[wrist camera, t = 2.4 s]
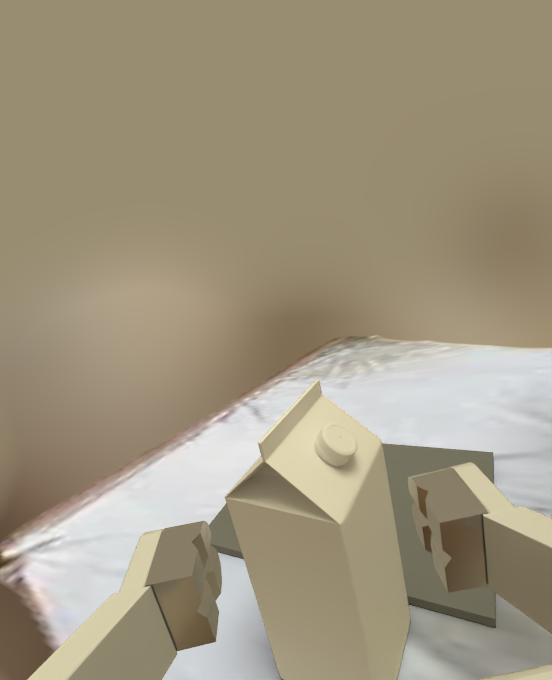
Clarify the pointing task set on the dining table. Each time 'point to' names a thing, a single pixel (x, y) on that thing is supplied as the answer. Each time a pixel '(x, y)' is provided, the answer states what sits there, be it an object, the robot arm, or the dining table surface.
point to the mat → (407, 532)
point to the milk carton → (323, 546)
